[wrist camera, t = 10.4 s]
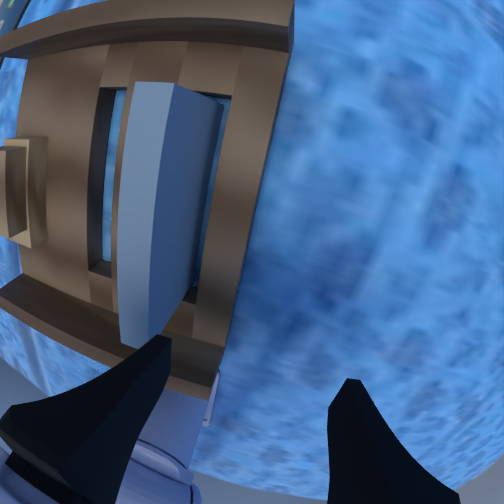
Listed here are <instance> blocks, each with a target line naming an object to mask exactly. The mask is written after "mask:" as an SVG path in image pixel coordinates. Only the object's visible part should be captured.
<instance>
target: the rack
mask: <svg viewBox="0 0 504 504" xmlns="http://www.w3.org/2000/svg"><path fill="white" fill-rule="evenodd" d="M293 43H294V0H108V1H103V2H98V3H94V4H90V5H86V6H82V7H78V8H74V9H71V10H67V11H64V12H61V13H58V14H55V15H52V16H49V17H46V18H43V19H40V20H38V21H35V22H32V23H30V24H27V25H25V26H23V27H20V28H18V29H16V30H13V31H11V32H9V33H7V34H5V35H3V36H0V57H8V58H19V59H28V64H27V68H26V72H25V77H24V82H23V88H22V93H21V99H20V106H19V114H18V122H17V132H16V137H21V136H32V137H48V149H47V165H46V220H47V237H48V239H47V240H46V241H44V242H42V243H40V244H38V245H37V246H35V247H33V248H32V249H31V248H29V247H26V246H24V245H21V244H19V243H18V244H19V252H20V259H21V265H22V271H23V273H22V274H21V275H19V276H18V277H16V278H15V279H13V280H12V281H11V282H9V283H8V284H6V285H5V286H4V287H2V288H1V289H0V308H2V309H3V310H5V311H6V312H8V313H9V314H11V315H12V316H14V317H15V318H17V319H19V320H20V321H22V322H23V323H25V324H27V325H28V326H30V327H32V328H33V329H35V330H37V331H39V332H40V333H42V334H44V335H46V336H48V337H49V338H51V339H53V340H55V341H57V342H59V343H61V344H62V345H64V346H66V347H68V348H70V349H72V350H74V351H76V352H78V353H80V354H82V355H85V356H87V357H89V358H91V359H93V360H95V361H98V362H100V363H102V364H104V365H107V366H109V367H111V368H113V367H114V366H116V365H117V364H119V363H120V362H122V361H123V360H124V359H126V358H127V357H128V356H130V355H131V354H133V353H134V352H135V351H137V350H138V349H136V348H134V347H131V346H128V345H126V344H123V343H121V337H120V325H119V310H118V288H117V229H118V208H119V193H120V181H121V170H122V161H123V153H124V145H125V137H126V131H127V124H128V118H129V112H130V107H131V101H132V96H133V91H134V86H135V82H164V83H175V84H178V85H180V86H182V87H185V88H187V89H189V90H192V91H194V92H196V93H199V94H201V95H206V96H214V97H221V98H228V99H231V103H230V108H229V113H228V117H227V122H226V127H225V132H224V137H223V141H222V146H221V152H220V157H219V162H218V167H217V172H216V178H215V183H214V189H213V195H212V200H211V206H210V212H209V218H208V224H207V230H206V237H205V243H204V249H203V256H202V263H201V270H200V277H199V284H198V288H194V287H191V286H190V288H189V290H188V291H187V293H186V294H185V296H184V297H183V299H182V300H181V302H180V304H179V305H178V307H177V308H176V310H175V312H174V313H173V315H172V316H171V318H170V319H169V321H168V323H167V324H166V326H165V327H164V329H163V331H162V332H161V334H160V335H162V336H166V337H169V338H172V347H171V371H170V374H169V377H168V380H167V382H166V385H165V387H164V388H166V389H169V390H172V391H176V392H179V393H182V394H185V395H188V396H192V397H195V398H198V399H202V400H206V401H209V398H210V395H211V392H212V388H213V385H214V382H215V379H216V376H217V373H218V370H219V366H220V363H221V360H222V357H223V354H224V351H225V347H226V344H227V339H228V335H229V330H230V325H231V321H232V316H233V312H234V307H235V302H236V298H237V293H238V289H239V284H240V279H241V275H242V270H243V266H244V261H245V257H246V252H247V247H248V243H249V238H250V234H251V229H252V225H253V220H254V216H255V211H256V207H257V202H258V198H259V193H260V189H261V184H262V180H263V175H264V171H265V166H266V162H267V157H268V153H269V149H270V144H271V140H272V135H273V131H274V126H275V122H276V118H277V113H278V109H279V104H280V100H281V96H282V91H283V87H284V82H285V78H286V74H287V69H288V65H289V61H290V56H291V52H292V48H293ZM116 90H127V91H126V97H125V102H124V107H123V113H122V119H121V125H120V132H119V139H118V147H117V155H116V165H115V175H114V187H113V202H112V226H111V263H110V262H106V261H103V260H102V207H103V188H104V174H105V163H106V153H107V144H108V136H109V129H110V122H111V116H112V110H113V104H114V99H115V93H116Z"/></svg>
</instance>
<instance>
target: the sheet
mask: <svg viewBox="0 0 504 504" xmlns="http://www.w3.org/2000/svg"><path fill="white" fill-rule="evenodd" d="M223 109H224V105H222V104H220V103H218V102H216V101H214V100H212V99H209V98H207V97H205V96H203V95H201V94H199V93H196V92H194V91H192V90H189V89H187V88H185V87H182V86H180V85H178V84H175V83H164V82H135V86H134V91H133V96H132V101H131V107H130V112H129V118H128V124H127V131H126V137H125V145H124V153H123V161H122V170H121V181H120V193H119V208H118V229H117V288H118V310H119V325H120V337H121V343H123V344H126V345H128V346H131V347H134V348H136V349H139V348H140V347H142V346H143V345H144V344H145V343H147V342H148V341H149V340H150V339H151V338H153V337H154V336H155V335H157V334H159V335H160V334H161V332H162V331H163V329H164V327H165V326H166V324H167V323H168V321H169V319H170V318H171V316H172V315H173V313H174V312H175V310H176V308H177V307H178V305H179V304H180V302H181V300H182V299H183V297H184V296H185V294H186V293H187V291H188V290H189V288H190V286H191V285H192V283H193V282H194V279H195V271H196V264H197V256H198V249H199V242H200V236H201V229H202V223H203V216H204V210H205V204H206V198H207V192H208V187H209V181H210V175H211V170H212V164H213V159H214V154H215V149H216V143H217V138H218V133H219V128H220V124H221V119H222V114H223Z"/></svg>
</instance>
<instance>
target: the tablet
mask: <svg viewBox="0 0 504 504" xmlns="http://www.w3.org/2000/svg"><path fill="white" fill-rule="evenodd" d="M30 1H31V0H0V36H3V35H5V34H7V33H9V32H11V31H13V30H16V29H17V27H18V25H19V23H20V21H21V18H22V16H23V14H24V13H25V11H26V9H27V7H28V5H29V3H30ZM4 58H5V57H0V69H1V66H2V63H3V60H4Z"/></svg>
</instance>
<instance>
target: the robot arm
mask: <svg viewBox="0 0 504 504" xmlns="http://www.w3.org/2000/svg"><path fill="white" fill-rule="evenodd" d="M171 347H172V338H169V337H166V336H162V335H159V334H157V335H155V336H154V337H153V338H151V339H150V340H149V341H148V342H147V343H145V344H144V345H143V346H142V347H140V348H139V349H138V350H137V351H135V352H134V353H133V354H131V355H130V356H128V357H127V358H126V359H124V360H123V361H122V362H120V363H119V364H117V365H116V366H114V367H113V368H111V369H109V370H108V371H106V372H105V373H103V374H101V375H100V376H98V377H96V378H94V379H93V380H91V381H89V382H87V383H85V384H83V385H80V386H78V387H76V388H74V389H71V390H69V391H66V392H64V393H61V394H58V395H55V396H52V397H48V398H45V399H42V400H38V401H34V402H29V403H23V404H17V405H12V406H11V407H10V408H9V409H8V410H7V412H6V413H5V414H4V415H3V416H2V418H1V419H0V437H1V438H2V439H3V440H4V442H5V443H6V444H7V445H8V446H9V447H10V448H11V449H12V453H11V454H10V455H9V454H8V453H7V452H6V451H5V450H4V449H2V448H1V447H0V504H202V497H201V495H200V491H199V489H198V487H197V486H196V485H195V484H192V480H193V477H194V473H192V472H190V471H188V467H189V464H190V460H191V457H192V454H193V451H194V448H195V445H196V442H197V438H198V435H199V432H200V429H201V426H205V427H207V426H209V423H210V418H211V414H212V409H213V404H214V399H215V395H216V390H217V385H218V381H219V376H220V373H219V372H218V373H217V376H216V379H215V382H214V385H213V388H212V392H211V395H210V398H209V401H206V400H202V399H198V398H195V397H192V396H188V395H185V394H182V393H179V392H176V391H172V390H169V389H166V388H164V387H165V385H166V382H167V380H168V377H169V374H170V371H171ZM327 435H328V451H329V468H330V481H329V492H328V500H327V504H461V503H460V498H459V494H458V493H456V492H455V491H453V490H452V489H450V488H448V487H447V486H445V485H444V484H442V483H441V482H440V481H438V480H437V479H436V478H435V477H433V476H432V475H431V474H430V473H429V472H427V471H426V470H425V469H424V468H423V467H422V466H421V465H420V464H419V463H418V462H417V461H416V460H415V459H414V458H413V457H412V456H411V455H410V454H409V452H408V451H407V450H406V449H405V448H404V447H403V445H402V444H401V443H400V442H399V440H398V439H397V438H396V436H395V435H394V433H393V432H392V431H391V429H390V428H389V426H388V425H387V423H386V422H385V420H384V419H383V417H382V416H381V414H380V412H379V411H378V409H377V407H376V406H375V404H374V402H373V401H372V399H371V397H370V396H369V394H368V392H367V391H366V389H365V387H364V385H363V384H362V382H361V381H360V380H356V379H349V378H347V379H346V381H345V382H344V384H343V386H342V387H341V389H340V390H339V392H338V394H337V395H336V397H335V398H334V400H333V401H332V403H331V404H330V406H329V407H328V422H327Z"/></svg>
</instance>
